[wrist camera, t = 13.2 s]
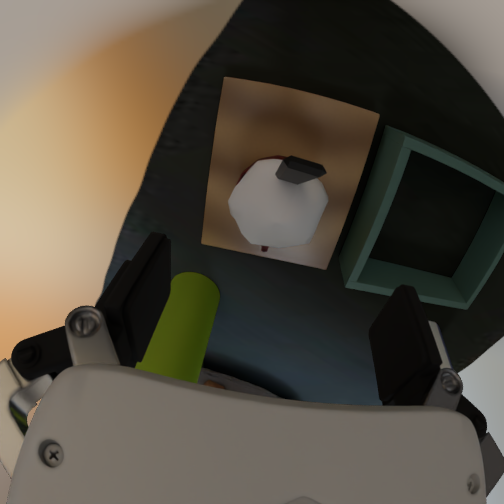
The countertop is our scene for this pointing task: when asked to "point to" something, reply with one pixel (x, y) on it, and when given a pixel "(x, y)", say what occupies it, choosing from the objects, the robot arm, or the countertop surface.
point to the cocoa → (279, 201)
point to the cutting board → (285, 144)
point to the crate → (375, 211)
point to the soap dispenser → (183, 328)
